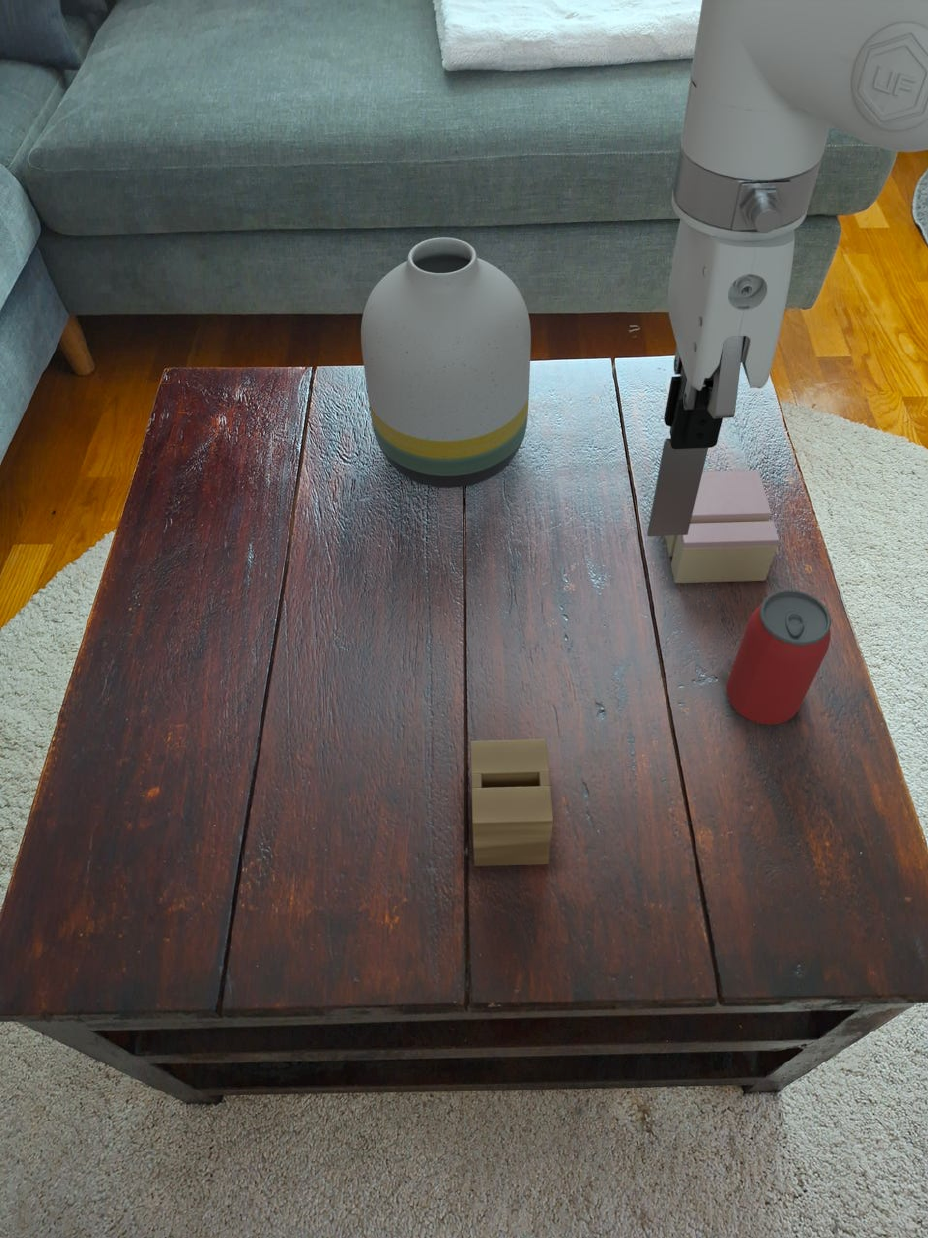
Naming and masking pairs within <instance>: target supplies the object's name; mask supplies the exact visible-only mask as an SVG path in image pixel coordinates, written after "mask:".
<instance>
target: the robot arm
mask: <svg viewBox="0 0 928 1238" xmlns="http://www.w3.org/2000/svg"><path fill="white" fill-rule="evenodd" d="M700 6H701V7H700V12H699V19H698V25H697V31H696V38H695V45H694V49H693V50H694V52H693V57H692V62H691V63H692V64H691V70H690V75H689V76H690V77H689V83H688V89H687V96H686V102H685V109H684V115H683V120H682V121H683V122H682V129H681V136H680V142H679V148H678V154H677V161H676V168H675V173H674V180H673V186H672V187H673V188H672V194H671V199H670V201H671V208H672V211H673V212H674V213H675V215H676V217H677V218H678V219H679V224H678V228H677V234H676V238H675V243H674V248H673V254H672V259H671V265H670V272H669V279H668V286H667V287H668V289H667V311H668V317H669V321H670V325H671V329H672V333H673V336H674V340H675V343H676V347H675V352H674V359H673V373H674V376H671V377H670V383H669V388H668V389H669V390H668V394H667V399H666V404H665V405H666V406H665V411H664V416H663V418H664V419H663V420H664V423H665V425H666V426H667V427H669V428H670V426H671V421H672V416H673V410H674V405H675V400H676V395H677V390H678V384H679V379H680V374H681V369H682V365H683V368H684V371H685V374H686V377H687V382H686V386H685V391H684V396H683V399H678V401H677V406H676V411H675V416H674V422H673V427H672V432H671V437H670V436H669V437H670V438H669V439H670V444H671V447H672V448H673V449H694V448H708V449H713V448H714V447H716V446H717V444H718V441H719V437H720V432H721V429H722V425H723V420H724V419H729V418H730V419H731V418H734V417H735V415H736V406H737V401H738V390H739V382H740V381H739V380H740V373H741V367H743V370H744V372H745V376H746V379H747V381H748V385H749V387H750V389H754V388H755V389H756V388H757V389H763V387H765V385H766V384H767V383H768V381H769V378H770V375H771V372H772V369H773V368H772V367H773V364H774V359H775V356H776V350H777V346H778V341H779V338H780V333H781V328H782V325H783V319H784V315H785V311H786V305H787V300H788V295H789V290H790V289H789V288H790V283H791V277H792V270H793V264H794V263H793V262H794V253H795V243H796V234H795V230H796V229H797V228H799V226H801V225H802V223H803V222H804V221H805V219H806V217H807V214H808V210H809V206H810V203H811V199H812V196H813V192H814V189H815V185H816V181H817V178H818V173H819V170H820V167H821V164H822V159H823V156H824V153H825V148H826V145H827V142H828V138H829V135H830V131H831V127H834V128H836V129H838V130H840V131H841V132H843V133H845V134H847V135H848V136H851V137H853V138H855V139H857V140H858V141H859V140H860V141H861V142H863V143H866V144H868V145H871V146H873V147H877V148H880V149H884V150H888V151H892V152H901V153H916V152H924V151H928V0H701V4H700ZM741 364H742V366H741ZM675 375H676V376H675ZM708 381H714V382H713V387H705V386H706V384H705V382H708ZM702 387H703V388H702Z"/></svg>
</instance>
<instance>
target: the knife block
mask: <svg viewBox="0 0 928 1238" xmlns="http://www.w3.org/2000/svg"><path fill="white" fill-rule="evenodd" d="M469 742H470V743H469V745H470V746H469V747H470V785H471V786H470V789H471V825H472V826H471V827H472V847H473V848H472V849H473V866H474V867H485V866H487V867H489V866H519V865H520V866H523V865H549V862H550V861H549V860H550V855H551V854H550V853H551V844H552V836H553V827H554V812H553V799H552V787H551V776H550V775H551V773H550V763H549V751H548V750H549V749H548V740H547V738H530V739H529V738H526V739H493V740H492V739H489V740H487V739H486V740H470V741H469Z"/></svg>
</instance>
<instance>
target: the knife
mask: <svg viewBox="0 0 928 1238" xmlns="http://www.w3.org/2000/svg"><path fill="white" fill-rule="evenodd" d="M679 376H680V379H679V384H678V390H677V395H676V400H675V405H674V410H673V416H672V421H671V426H670V427H669V437H671V432H672V427H673V422H674V416H675V411H676V406H677V401H678V399H683V396H684V391H685V386H686V382H687V377H686V374H685V371H684V368H683V365H682V369H681V374H680V375H679ZM713 382H714V381H708V382H705V384H706V386H705V387H713ZM702 388H703V387H702ZM708 451H709V448H694V449H673V448H672V447H671V444H670V438H665V439H664V442H663V447H662V452H661V458H660V464H659V468H658V474H657V479H656V485H655V490H654V496H653V501H652V505H651V511H650V517H649V522H648V527H647V532H646V535H647V537H665V536H670V535H688V531H689V527H690V522H691V518H692V514H693V510H694V506H695V501H696V497H697V493H698V489H699V485H700V480H701V476H702V472H704V467H705V463H706V459H707V455H708Z"/></svg>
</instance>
